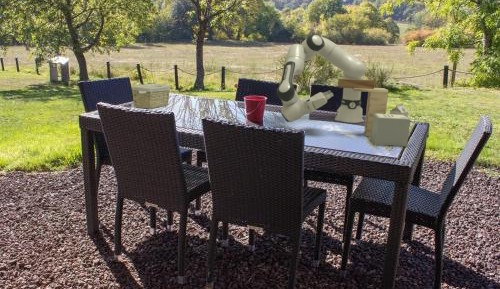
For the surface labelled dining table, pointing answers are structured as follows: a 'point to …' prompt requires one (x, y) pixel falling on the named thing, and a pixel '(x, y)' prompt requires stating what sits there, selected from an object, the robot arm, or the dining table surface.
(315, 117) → the dining table surface
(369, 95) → the pine shelf
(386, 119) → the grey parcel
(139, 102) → the storage basket
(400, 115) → the letter
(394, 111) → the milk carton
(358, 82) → the walnut bar
